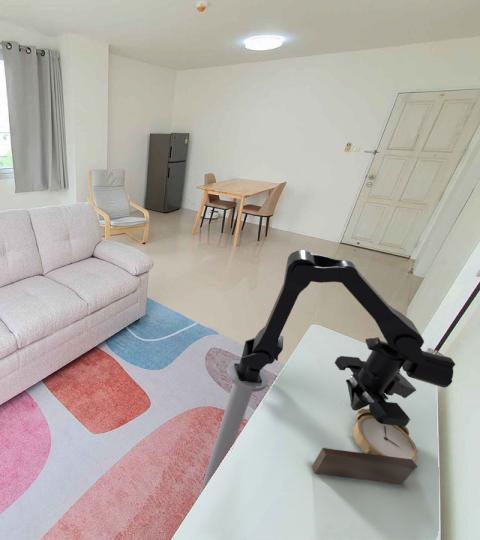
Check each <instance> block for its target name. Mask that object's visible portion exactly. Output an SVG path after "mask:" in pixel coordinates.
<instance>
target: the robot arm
mask: <svg viewBox="0 0 480 540" xmlns="http://www.w3.org/2000/svg"><path fill="white" fill-rule="evenodd" d="M311 282H313V283H321V284H322V283H341V284H342V285H343V286H344V287H345V289H347V291H348V292H349V293H350V294H351V295H352V296H353V297H354V299H355V300H356V301H357V302H358V303H359V305H361V307H362V308H363V309H364V310H365V311H366V312H367V313H368V314H369V315H370V317H371V318H372V319H373V320H374V321H375V323H376V325H377V326H378V328H379V330H380V333H381V334H382V336H383V338H384V339H385V341H383V340H381V339H380V337H379V336H377V337H369V338H365V344H366V346H367V349H368V350H370V351H371V352H370V354H369V356H368V357H367V358H366V360H361V359H360V357H357V356H346V355H340V356H338V357H336V359H335V361H334V364H335V366H336V368H337V369H338V370H339V371H346V369H349V370H350V371H351V372H352V374H350V378H348V379H347V378H346V380H345V383H346V384H347V390H348V395H349V401H350V406H351V407H350V408H351V409H352V411H357V412H358V411H360V410H361V409H365V408H366V407H368V409H369V410H370V412H371V414H372V415H373V417H374V418H375V419H376V421H377V422H379V423H381V424H387V425H396V426H406V427H407V426H408V424H409V423H410V421H411V418H410V417H409V415H408V414H407V413H406V412H405V411H404V409H403V408H402V407H401V406H400V404H399V403H398V402H392V401H388V400H389V397H388V396H391V397H392V396H394V395H398V396H400V397H401V398H403V399H406V398H408V397H409V396H411V395H412V394H413V393H415V392H416V391H417V389H416V387H415V386H414V385H413V384H412V383H411V382H410V381H409V380H408V379H407V378H406V377H405V376H404V375H402V373H401V369H402V370H403V371H404V372H405V374H406V376H408V378H410V379H413V380H417V381H421V382H424V383H426V384H430V385H433V386H436V387H439V388H448V387H449V386H451V384H452V383H453V377H454V367H455V366H456V363H455V361H454V360H453V359H452V357H450V356H446V355H439V354H435V353H433V352H429V351H424V350H422V347H423V345H424V343H425V340H424V337H422V335H421V333H420V332H419V330H418V328H417V327H416V325H415V324H414V322H413V321H412V320H411V319H409V318H408V317H407V316H406V315H405V314H403V313H402V312H401V311H399V310H397V309H396V308H394V307H392V306H391V305H389V303H388V302H387V300H385V299H384V298H383V297H382V296H381V294H379V291H377V290H376V289H375V288H374V286H372V284H371V283H370V282H369V281H368V280H367V278H365V277H364V276H363V275H362V273H361V272H360V271H359V269H357V267H356V265H355V263H354V262H352V261H350V260H347V259H346V260H345V259H338V258H333V257H330V256H327V255H322V254H315V253H311V252H310V251H307V250H304V249H301V250H300V249H299V250H296V251H293V252H291V253H290V254H289V256H288V257H287V260H286V266H285V272H284V278H283V283H282V286H281V288H280V291H279V293H278V295H277V297H276V300H275V303H274V304H273V307H272V309H271V311H270V313H269V317H268V319H267V321H266V323H265V325H264V326H263V327H262V328H261V329H260V330H259V331H258V333H257V334H256V335H255V336H254V337H253V338H250V339H247V340H245V342H244V347H243V350H242V354H241V357H240V359H239V360H240V363H239V364H238V363H235V364H234V366H235V369H236V372H237V376H238V379H239V380H240V381H247V382H256V383H262V379H261V377H260V374H259V373H260V370H261V369H263V368H264V367H266V366H267V365H272V364H274V362H275V361H276V362H278V361H279V355H280V354H281V353H282V351H283V349H284V336H283V335H281V334H282V332H283V329H284V327H285V325H286V323H287V321H288V318H289V316H290V315H291V312H292V311H293V309H294V306H295V304H296V302H297V300H298V297H299V295H300V294H301V293H302V292H303V291H305V289H306V288H307V287H308V286H309V285H310V284H311Z"/></svg>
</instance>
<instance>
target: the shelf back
mask: <svg viewBox="0 0 480 540" xmlns="http://www.w3.org/2000/svg"><path fill="white" fill-rule="evenodd" d="M311 468H312V470H313V472H314V474H318V475H326V476H331V477H332V476H334V477H341V478H347V479H348V478H349V479H354V480H355V479H356V480H363V481H369V482H379V483H385V484H393V485H400V486H401V485H403V484H404V483H405V482H406V481H407V480H408V478H409V477H410V476H411V475H412V473H414V471H415V470H416V469H417V468H418V465H417V464H416V463H415V461H413V460H412V459H406V458H398V457H390V456H382V455H374V454H366V453H364V452H357V451H350V450H342V449H333V448H328V447H327V448H326V447H322V448H321V450H320V451H319V453H318V454H317V457H316V459H315V460H314V462H313V463H312V465H311Z"/></svg>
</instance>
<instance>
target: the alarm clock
mask: <svg viewBox="0 0 480 540" xmlns="http://www.w3.org/2000/svg"><path fill="white" fill-rule="evenodd" d="M355 417H356V420H357V422H356V423H355V424H354V425H353V428H352V435H353V438H354V442H355V443H356V445H357V446H358V447H359V449H360V450H361V451H362V453H366V454H374V455H382V456H390V457H398V458H406V459H412V460H413V461H414V462H415V461H416V460H417V459H418V454H419V451H418V449H417V445H416V443H415V442H414V440H413V439H412V438H411V437H410V431H409V428H408V426H407V425H406V426H396V425H387V424H381V423H379V422H377V421H376V419H375V418H374V417H373V415H372V414H371V412H370V410H369V408H361V409H359V410H357V412H356V414H355Z"/></svg>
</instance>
